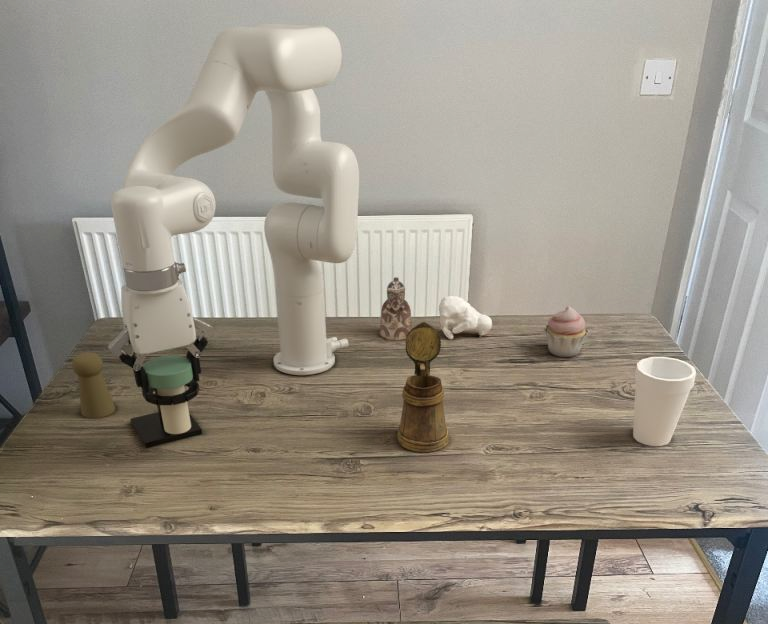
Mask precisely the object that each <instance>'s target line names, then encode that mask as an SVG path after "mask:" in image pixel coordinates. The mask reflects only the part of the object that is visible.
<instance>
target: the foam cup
mask: <svg viewBox="0 0 768 624" xmlns="http://www.w3.org/2000/svg"><path fill="white" fill-rule="evenodd" d="M696 376H697V371H696V367H694V366H693V365H691V364H690V363H688V362H687V361H684V360H681V359H678V358H673V357H669V356H649V357H646V358H642V359H641V360H639V362H637V363H636V368H635V372H634V384H635V386H634V405H633V427H632V429H633V430H632V436H633V439H635V440H636V442H638V443H640V444H643V445H645V446H650V447H663V446H666V445H668V444H669V443H670V442H671V440H672V438H673V435H674V433H675V431H676V428H677V425H678V423H679V420H680V417H681V415H682V412H683V410H684V408H685V405H686V403H687V400H688V397H689V395H690V393H691V390H692V388H693V387H694V385H695V381H696Z"/></svg>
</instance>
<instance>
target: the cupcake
mask: <svg viewBox="0 0 768 624" xmlns="http://www.w3.org/2000/svg"><path fill="white" fill-rule="evenodd" d="M542 329H543V328H542ZM543 332H544V334H545V337H546V341H547V342H546V343H547V348H548V351H549V353H550V354H552V355H554V356H556V357H561V358H572V357H575V356H577V355H578V354H579V353H580V351H581V348H582V346H583V343H584V341H585V339H586V338H587V336H588V334H589V332H590V330H589V329H586V321H585V319H584V318H583V316H582V315H581V314H579V313H578V312H577V311H576V309H574V308H573V307H572V306H569V305H567V306H566V308H565V309H564V310H560V311H558V312H556V313H554V315H553V316H551V317H550V318H549V319H548V321H547V324H545V328H544V329H543Z"/></svg>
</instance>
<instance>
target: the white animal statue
mask: <svg viewBox="0 0 768 624" xmlns="http://www.w3.org/2000/svg"><path fill="white" fill-rule="evenodd" d="M438 314H439V320H438V321H439V325H440V328H441V330H442V332H443V334H444V335H445V337H446V338H448V340H454V334H460V333H462V332H465V331H472V330H474V331H477V334H478V335H479V338H481V337H482V336H486V335H487V333H488V332H489V331H491V329H492V327H493V321H492V318H491V317H490V316H488V315H486V314H483V313H480V312H479V311H478V310H476V309H475V307H473V306H471V304H470V303H469V302H467V301H466V300H465V299H464V298H462V297H460V296H456V295H447V296H445V297H442V299H441V300H440V302H439V305H438ZM453 325H455V327H453Z"/></svg>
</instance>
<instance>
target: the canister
mask: <svg viewBox="0 0 768 624" xmlns="http://www.w3.org/2000/svg"><path fill="white" fill-rule="evenodd" d="M142 366H143V368H144V369H145V371H146V376H147V381H148V386H149V387H152V388H156V389H157V393H158V395H160V396H173V395H177V394H182V393H183V392H185V391H186V386H184V385H185V384H187V383H189V382H190V381H191V380H192V378H193V372H192V366H191V361H190V360H189V359H188V358H187V356H183V355H176V354H167V355H161V356H156V357H153V358H151V359H148V360H147V361H145V362H143V365H142ZM160 409H161V414H162V419H163V424H164V430H165V431H166V432H167V433H170V434H181V433H184V432H187V431H188V430H189V429H190V428H191V422H190V416H189V413H190V410H189V404H188V401H186V402H185V403H181V404H176V405H173V404H172V405H160Z"/></svg>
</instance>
